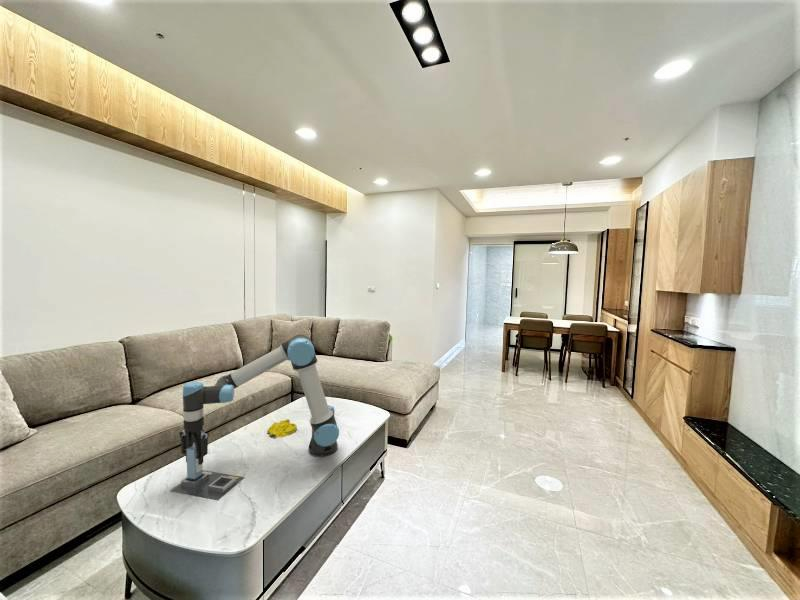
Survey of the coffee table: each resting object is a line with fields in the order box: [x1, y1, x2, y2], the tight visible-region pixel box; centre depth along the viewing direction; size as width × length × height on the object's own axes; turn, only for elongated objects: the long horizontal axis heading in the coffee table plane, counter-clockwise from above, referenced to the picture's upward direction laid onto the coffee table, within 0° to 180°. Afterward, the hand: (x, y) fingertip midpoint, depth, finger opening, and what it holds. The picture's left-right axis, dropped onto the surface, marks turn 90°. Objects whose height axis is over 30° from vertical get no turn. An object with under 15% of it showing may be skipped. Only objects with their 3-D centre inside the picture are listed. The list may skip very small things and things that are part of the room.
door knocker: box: [266, 419, 297, 439], centre depth 196 cm, size 16×16×4 cm
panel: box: [170, 469, 246, 501], centre depth 143 cm, size 24×16×3 cm, turn 77°
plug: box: [186, 443, 203, 479], centre depth 144 cm, size 4×5×13 cm
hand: (194, 469), depth 144 cm, fingers closed on plug, 4 cm apart
